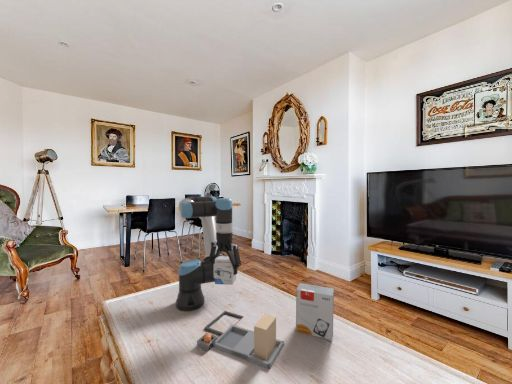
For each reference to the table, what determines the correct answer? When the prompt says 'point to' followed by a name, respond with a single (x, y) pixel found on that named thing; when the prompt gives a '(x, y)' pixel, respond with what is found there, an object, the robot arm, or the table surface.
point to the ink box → (223, 270)
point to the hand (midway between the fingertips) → (224, 278)
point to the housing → (205, 345)
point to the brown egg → (207, 338)
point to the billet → (265, 337)
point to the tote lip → (218, 319)
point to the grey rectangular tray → (244, 345)
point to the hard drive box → (315, 310)
